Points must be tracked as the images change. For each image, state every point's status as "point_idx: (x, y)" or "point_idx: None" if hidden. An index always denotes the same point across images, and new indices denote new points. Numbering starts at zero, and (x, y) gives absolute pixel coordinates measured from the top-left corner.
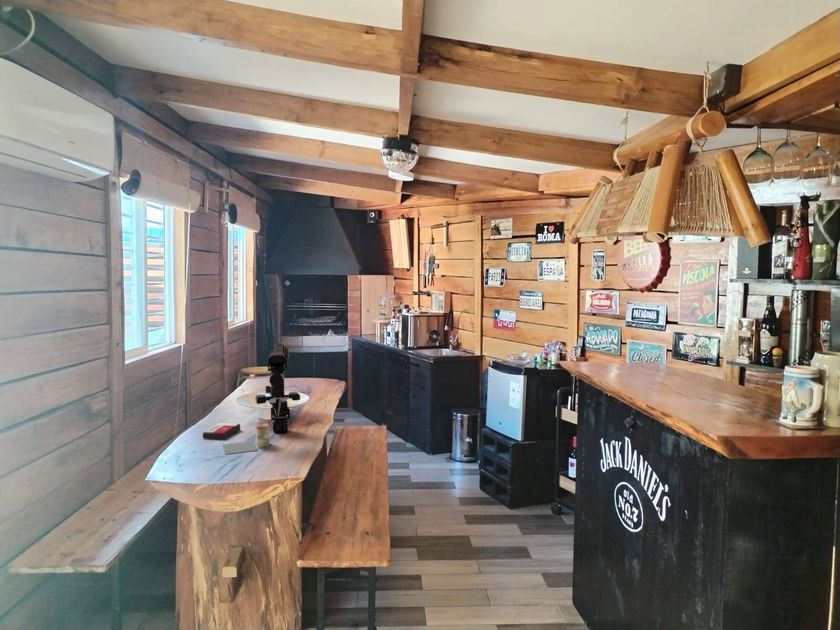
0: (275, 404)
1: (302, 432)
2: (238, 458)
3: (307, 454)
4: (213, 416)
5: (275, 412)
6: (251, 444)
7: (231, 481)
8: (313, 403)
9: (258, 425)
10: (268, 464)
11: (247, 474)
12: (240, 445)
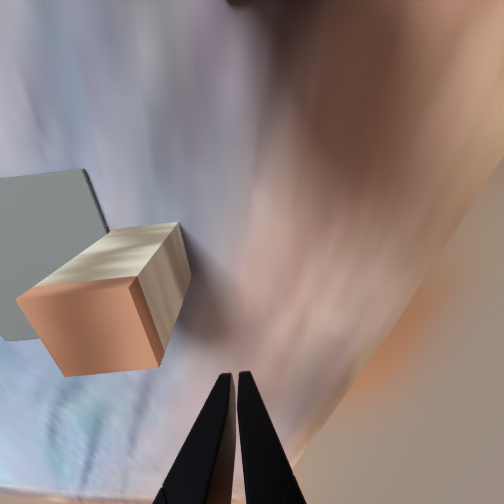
0: None
1: (439, 36)
2: (83, 382)
3: (332, 397)
4: None
5: (194, 428)
6: (89, 242)
7: (117, 494)
8: None
9: (59, 336)
10: None
11: (148, 475)
12: (27, 241)
